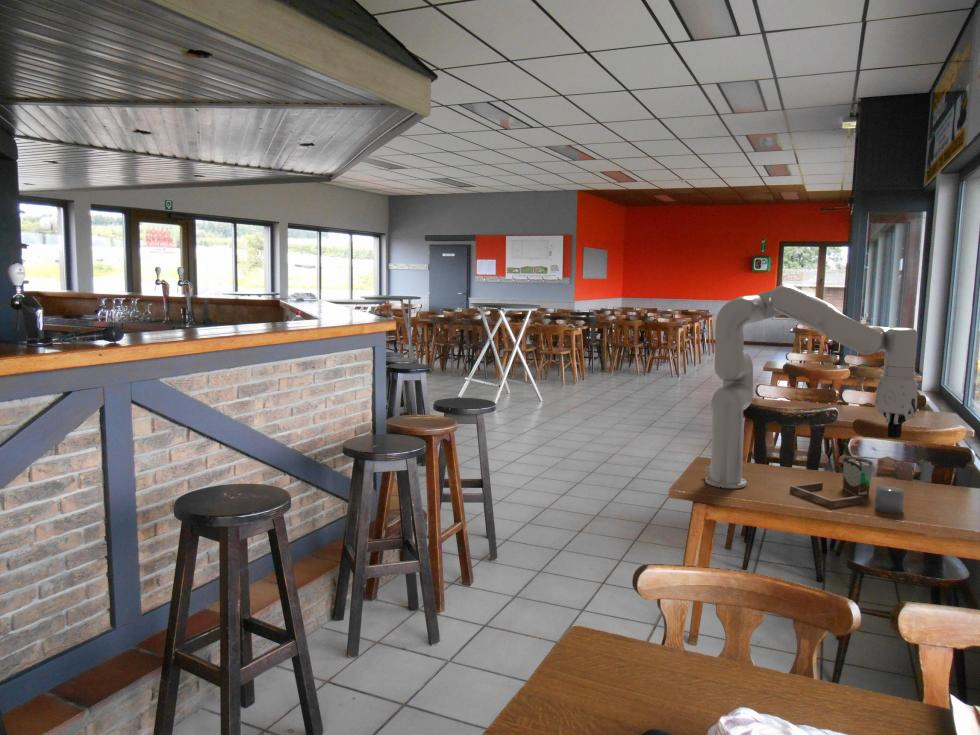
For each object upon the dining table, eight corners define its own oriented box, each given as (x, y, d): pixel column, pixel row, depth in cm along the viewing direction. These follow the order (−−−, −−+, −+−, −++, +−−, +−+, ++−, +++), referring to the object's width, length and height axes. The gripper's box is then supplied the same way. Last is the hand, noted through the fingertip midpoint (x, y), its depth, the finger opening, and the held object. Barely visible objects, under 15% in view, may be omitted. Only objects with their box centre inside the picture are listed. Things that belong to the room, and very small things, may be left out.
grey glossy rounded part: (869, 507, 209) (870, 487, 208) (887, 504, 211) (888, 484, 210) (890, 515, 202) (891, 494, 201) (908, 512, 205) (910, 491, 204)
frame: (789, 492, 223) (790, 486, 222) (819, 488, 227) (820, 482, 227) (831, 508, 208) (832, 501, 208) (862, 503, 212) (863, 496, 212)
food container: (881, 498, 216) (883, 466, 215) (860, 498, 216) (862, 466, 215) (860, 486, 229) (862, 455, 227) (840, 486, 229) (842, 455, 227)
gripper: (866, 369, 207) (861, 432, 209) (913, 376, 193) (908, 444, 196) (885, 368, 210) (880, 430, 212) (933, 375, 196) (928, 441, 198)
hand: (894, 436), depth 204 cm, fingers closed
